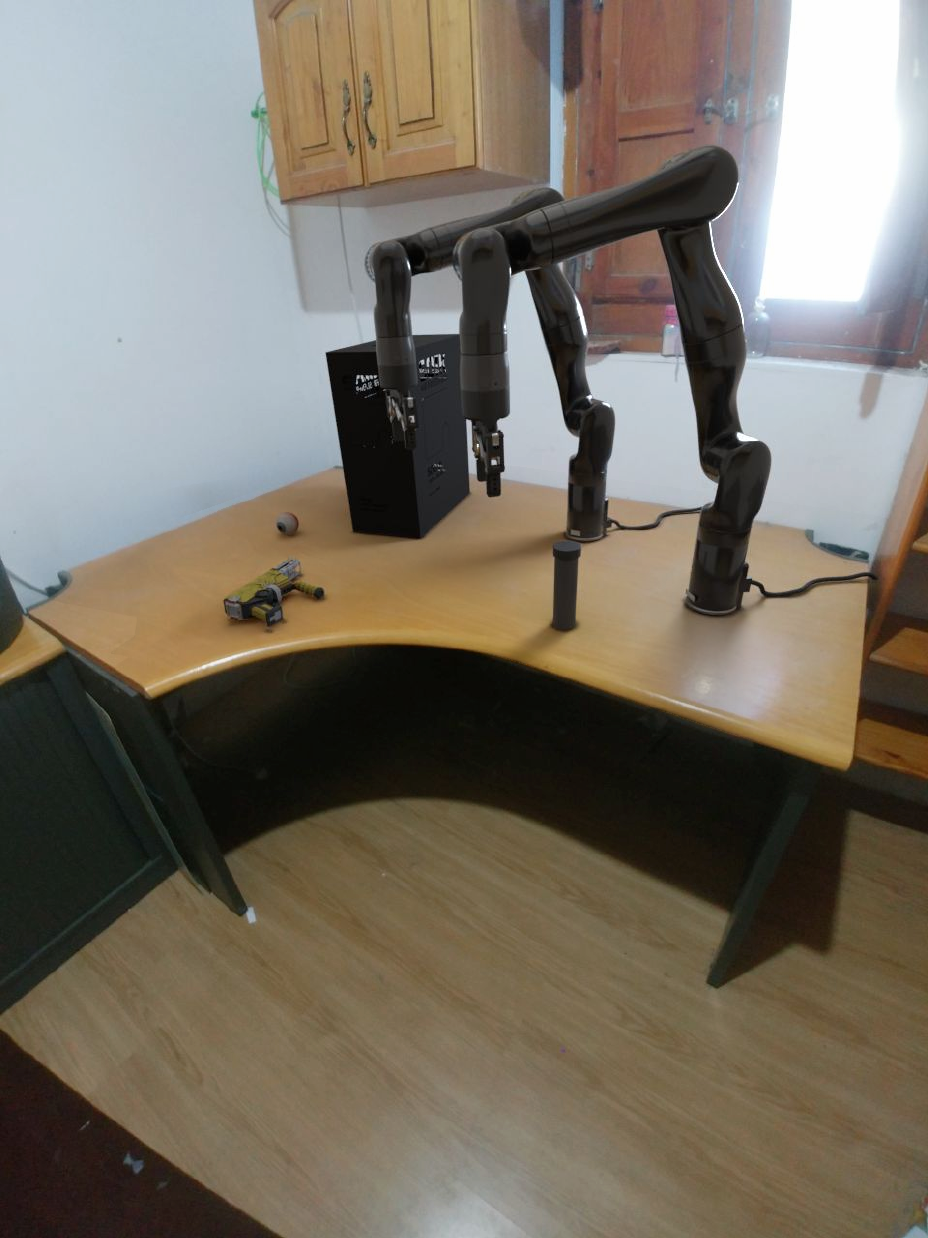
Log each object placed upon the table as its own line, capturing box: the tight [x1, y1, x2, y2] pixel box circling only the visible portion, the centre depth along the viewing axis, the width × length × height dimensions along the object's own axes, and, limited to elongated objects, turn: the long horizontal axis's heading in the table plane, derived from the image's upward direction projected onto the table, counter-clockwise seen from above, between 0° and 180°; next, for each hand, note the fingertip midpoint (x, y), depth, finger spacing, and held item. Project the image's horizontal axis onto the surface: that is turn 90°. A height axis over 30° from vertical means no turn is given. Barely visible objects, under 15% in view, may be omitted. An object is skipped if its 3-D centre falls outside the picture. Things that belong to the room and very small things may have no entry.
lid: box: [552, 539, 582, 560], centre depth 109 cm, size 5×5×2 cm
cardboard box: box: [325, 333, 471, 539], centre depth 165 cm, size 38×20×45 cm, turn 159°
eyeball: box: [275, 511, 300, 536], centre depth 163 cm, size 6×6×6 cm
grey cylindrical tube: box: [552, 557, 580, 631], centre depth 112 cm, size 4×4×16 cm
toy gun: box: [222, 557, 325, 628], centre depth 130 cm, size 5×24×15 cm
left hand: (404, 444), depth 126 cm, fingers open, 8 cm apart
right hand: (488, 488), depth 100 cm, fingers open, 8 cm apart
